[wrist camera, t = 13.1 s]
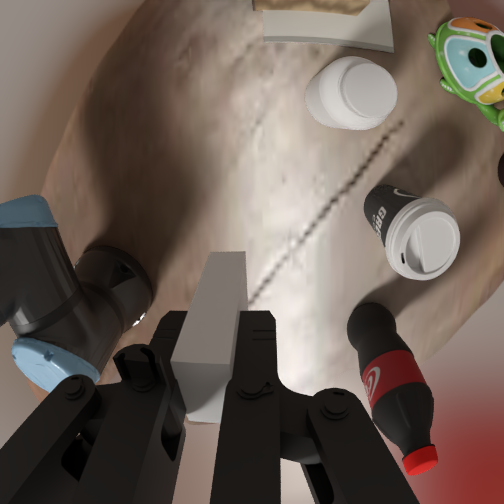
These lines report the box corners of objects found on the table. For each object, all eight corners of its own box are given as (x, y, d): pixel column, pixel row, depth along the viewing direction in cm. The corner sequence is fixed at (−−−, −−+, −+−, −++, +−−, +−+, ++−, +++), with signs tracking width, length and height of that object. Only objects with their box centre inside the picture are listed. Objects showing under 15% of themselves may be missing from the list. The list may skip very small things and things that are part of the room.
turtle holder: (456, 139, 36) (504, 150, 25) (412, 29, 30) (454, 9, 19) (502, 120, 33) (550, 129, 22) (465, 20, 27) (509, 7, 16)
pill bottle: (367, 122, 36) (418, 126, 23) (312, 132, 38) (339, 139, 24) (353, 67, 33) (397, 45, 20) (297, 77, 35) (315, 53, 21)
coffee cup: (357, 171, 39) (401, 199, 26) (415, 178, 39) (473, 207, 25) (350, 235, 43) (384, 287, 30) (406, 237, 43) (453, 286, 29)
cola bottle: (335, 329, 51) (373, 487, 23) (359, 291, 47) (426, 452, 20) (372, 341, 52) (421, 483, 24) (397, 305, 48) (470, 447, 21)
